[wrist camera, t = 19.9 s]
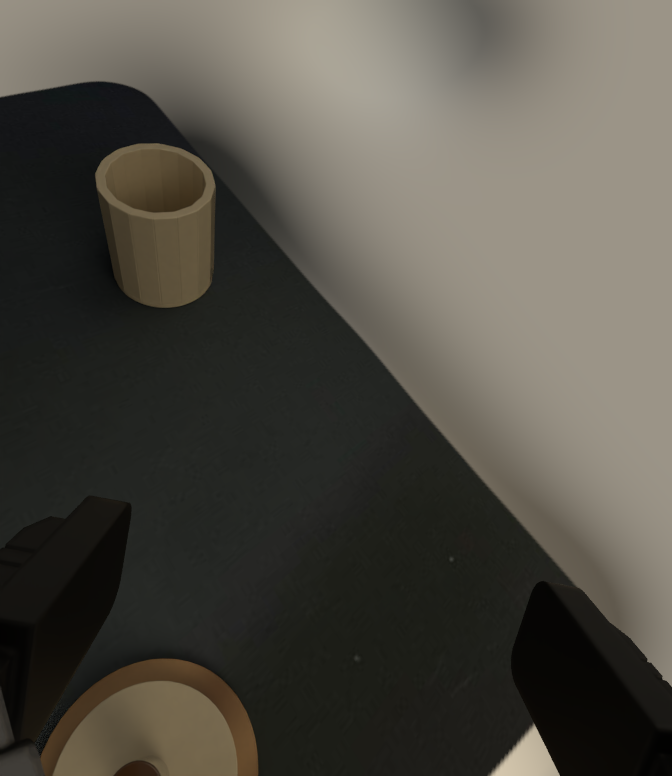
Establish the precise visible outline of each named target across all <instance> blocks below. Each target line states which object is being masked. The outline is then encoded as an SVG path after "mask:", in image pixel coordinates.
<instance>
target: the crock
mask: <svg viewBox="0 0 672 776" xmlns="http://www.w3.org/2000/svg"><path fill="white" fill-rule="evenodd" d="M95 179H96V186H97V192H98V197H99V202H100V207H101V212H102V217H103V222H104V227H105V232H106V237H107V242H108V247H109V252H110V257H111V262H112V267H113V273H114V278H115V280H116V282H117V284H118V286H119V287H120V289H121V290H122V291H123V292H124V293H125V294H126V295H127V296H128V297H130V298H131V299H133V300H135V301H137V302H139V303H142V304H144V305H148V306H152V307H159V308H171V307H178V306H182V305H186V304H188V303H191V302H193V301H195V300H196V299H198V298H199V297H201V296H202V295H203V294H204V293H205V292H206V290H207V289H208V288H209V286H210V284H211V281H212V277H213V271H214V232H215V182H214V178H213V175H212V172H211V170H210V169H209V168H208V167H207V166H206V165H205V163H204V162H203V161H202V160H201V159H200V158H198V157H196V156H195V155H193V154H191V153H189V152H187V151H185V150H183V149H181V148H177V147H172V146H168V145H164V144H135V145H131V146H128V147H124V148H120V149H118V150H116V151H114V152H113V153H111V154H110V155H108V156H107V157H106V158H104V159H103V160H102V161H101V163H100V165H99V167H98V169H97V171H96V173H95Z"/></svg>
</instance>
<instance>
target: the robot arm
mask: <svg viewBox="0 0 672 776" xmlns="http://www.w3.org/2000/svg"><path fill="white" fill-rule="evenodd" d="M130 519H131V504H130V503H127V502H122V501H117V500H111V499H106V498H101V497H95V496H88V497H86V498H85V499H84V500H83V502H82V503H81V504H80V505H79V506H78V507H77V508H76V509H75V510H74V511H73V512H72V513H71V514H70V515H69V516H68V517H67V518H66V519H63V518H57V517H52V516H50V517H48V518H46V519H43V520H41V521H39V522H36V523H34V524H32V525H29V526H27V527H25V528H23V529H22V530H21V531H20V532H19V533H18V534H17V535H15V536H14V537H13V538H12V539H11V540H10V541H9V542H8V543H7V544H6V546H5V548H1V549H0V776H45V773H44V770H43V766H42V763H41V760H40V757H39V754H38V751H37V748H36V746H35V744H34V743H35V741H36V740H37V738H38V736H39V735H40V733H41V731H42V729H43V728H44V726H45V724H46V722H47V721H48V719H49V717H50V715H51V714H52V712H53V710H54V708H55V707H56V705H57V703H58V702H59V700H60V698H61V696H62V695H63V693H64V691H65V689H66V688H67V686H68V684H69V682H70V681H71V679H72V677H73V675H74V674H75V672H76V670H77V669H78V667H79V665H80V663H81V662H82V660H83V658H84V656H85V655H86V653H87V651H88V649H89V648H90V646H91V644H92V642H93V641H94V639H95V637H96V636H97V634H98V632H99V630H100V629H101V627H102V625H103V623H104V622H105V620H106V618H107V616H108V615H109V613H110V611H111V609H112V606H113V604H114V601H115V598H116V595H117V592H118V588H119V584H120V580H121V574H122V568H123V562H124V556H125V550H126V544H127V538H128V531H129V525H130ZM511 669H512V675H513V679H514V682H515V685H516V687H517V689H518V691H519V693H520V695H521V697H522V699H523V701H524V703H525V705H526V707H527V709H528V711H529V713H530V715H531V717H532V719H533V722H534V724H535V726H536V728H537V730H538V732H539V734H540V736H541V738H542V740H543V742H544V744H545V746H546V748H547V749H548V752H549V754H550V756H551V758H552V760H553V762H554V764H555V766H556V768H557V770H558V772H559V774H560V776H672V687H671V686H670V685H669V683H668V682H667V681H664V680H662V675H661V674H660V673H659V672H658V670H657V669H656V668H655V667H654V666H653V665H652V663H649V662H647V658H646V657H645V655H644V654H643V653H642V652H641V651H640V650H639V648H638V647H637V646H636V645H635V644H634V643H633V641H632V640H631V639H630V638H629V637H628V636H626V635H625V634H624V633H622V632H621V631H620V630H619V629H617V628H616V627H615V626H614V625H612V624H611V623H610V622H609V621H608V620H607V619H606V618H605V617H604V615H603V614H602V613H601V612H600V611H599V609H598V608H597V607H596V606H595V605H594V603H593V602H592V601H591V600H590V599H589V598H588V596H587V595H586V594H585V593H584V592H583V591H582V590H581V589H580V588H576V587H571V586H566V585H560V584H555V583H550V582H544V581H541V582H539V583H537V584H536V586H535V587H534V589H533V591H532V593H531V596H530V599H529V602H528V605H527V608H526V611H525V614H524V617H523V620H522V623H521V626H520V628H519V631H518V634H517V637H516V640H515V643H514V646H513V650H512V657H511Z"/></svg>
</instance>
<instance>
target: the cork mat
mask: <svg viewBox="0 0 672 776" xmlns="http://www.w3.org/2000/svg"><path fill="white" fill-rule="evenodd" d="M157 680H161V681H173V682H178V683H182V684H184V685H187V686H190V687H192V688H194V689H196V690H198V691H199V692H201V693H202V694H203V695H205V696H206V697H207V698H209V699H210V700H211V701H212V702H213V703H214V704H215V705H216V707H217V708H218V709H219V711H220V712H221V713H222V715H223V717H224V718H225V720H226V722H227V724H228V726H229V728H230V731H231V734H232V736H233V740H234V744H235V748H236V755H237V766H238V776H258V754H257V747H256V740H255V736H254V732H253V728H252V724H251V722H250V719H249V717H248V715H247V712H246V710H245V708H244V706H243V705H242V703H241V701H240V699H239V698H238V697H237V695H236V694H235V693H234V691H233V690H232V689H231V688H230V687H229V686H228V685H227V684H226V683H225V682H224V681H223V680H222V679H221V678H220V677H218V676H217V675H216V674H214V673H213V672H212V671H210V670H208V669H206V668H204V667H202V666H200V665H197V664H195V663H192V662H189V661H184V660H179V659H166V658H161V659H150V660H145V661H141V662H137V663H133V664H131V665H128V666H125V667H123V668H120V669H118V670H117V671H115V672H113V673H111V674H109V675H107V676H106V677H104V678H103V679H101V680H100V681H98V682H97V683H95V684H94V685H93V686H92V687H90V688H89V689H88V690H87V691H86V692H84V693H83V694H82V695H81V696H80V697H79V698H78V699H77V700H76V701H75V702H74V704H73V705H72V706H71V707H70V708H69V709H68V711H67V712H66V713H65V714H64V716H63V717H62V718H61V720H60V721H59V723H58V724H57V726H56V727H55V729H54V731H53V732H52V734H51V735H50V737H49V739H48V741H47V743H46V745H45V747H44V749H43V752H42V754H41V757H40V760H41V763H42V766H43V770H44V773H45V776H52V775H53V772H54V769H55V766H56V763H57V760H58V758H59V756H60V754H61V752H62V750H63V748H64V746H65V744H66V742H67V741H68V739H69V738H70V736H71V734H72V733H73V731H74V730H75V729H76V728H77V726H78V725H79V724H80V722H81V721H82V720H83V719H84V718H85V717H86V716H87V715H88V714H89V713H90V711H92V710H93V709H94V708H95V707H96V706H97V705H99V704H100V703H101V702H102V701H104V700H105V699H107V698H108V697H110V696H111V695H113V694H114V693H116V692H118V691H120V690H122V689H124V688H127V687H129V686H132V685H135V684H139V683H143V682H147V681H157Z"/></svg>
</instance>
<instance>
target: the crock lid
mask: <svg viewBox="0 0 672 776" xmlns="http://www.w3.org/2000/svg"><path fill="white" fill-rule="evenodd" d="M52 776H238V766H237V755H236V748H235V744H234V740H233V736H232V734H231V731H230V728H229V726H228V724H227V722H226V720H225V718H224V717H223V715H222V713H221V712H220V711H219V709H218V708H217V707H216V705H215V704H214V703H213V702H212V701H211V700H210V699H209V698H207V697H206V696H205V695H203V694H202V693H201V692H199V691H198V690H196V689H194V688H192V687H190V686H187V685H184V684H182V683H178V682H173V681H161V680H157V681H147V682H143V683H139V684H135V685H132V686H129V687H127V688H124V689H122V690H120V691H118V692H116V693H114V694H113V695H111V696H110V697H108V698H107V699H105V700H104V701H102V702H101V703H100V704H99V705H97V706H96V707H95V708H94V709H93V710H92V711H90V713H89V714H88V715H87V716H86V717H85V718H84V719H83V720H82V721H81V722H80V724H79V725H78V726H77V728H76V729H75V730H74V731H73V733H72V734H71V736H70V738H69V739H68V741H67V742H66V744H65V746H64V748H63V750H62V752H61V754H60V756H59V758H58V760H57V763H56V766H55V769H54V772H53V775H52Z"/></svg>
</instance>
